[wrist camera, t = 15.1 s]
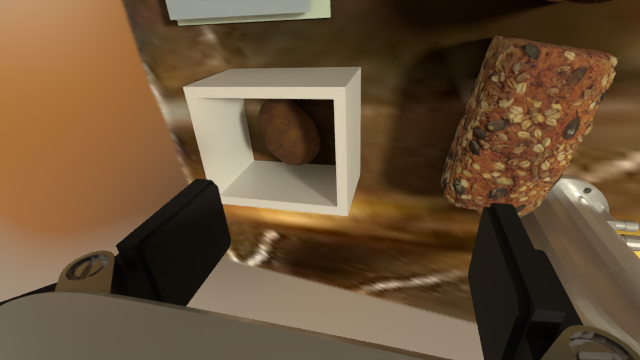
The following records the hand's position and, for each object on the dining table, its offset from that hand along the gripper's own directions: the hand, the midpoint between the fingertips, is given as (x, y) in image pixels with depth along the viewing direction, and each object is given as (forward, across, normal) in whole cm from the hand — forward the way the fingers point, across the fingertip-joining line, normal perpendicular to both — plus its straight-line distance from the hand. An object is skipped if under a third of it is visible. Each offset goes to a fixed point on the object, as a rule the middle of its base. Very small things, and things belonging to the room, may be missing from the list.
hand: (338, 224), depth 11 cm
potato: (+34, +13, +8) cm, 37 cm away
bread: (+34, -14, +7) cm, 37 cm away
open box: (+33, +13, +8) cm, 37 cm away
